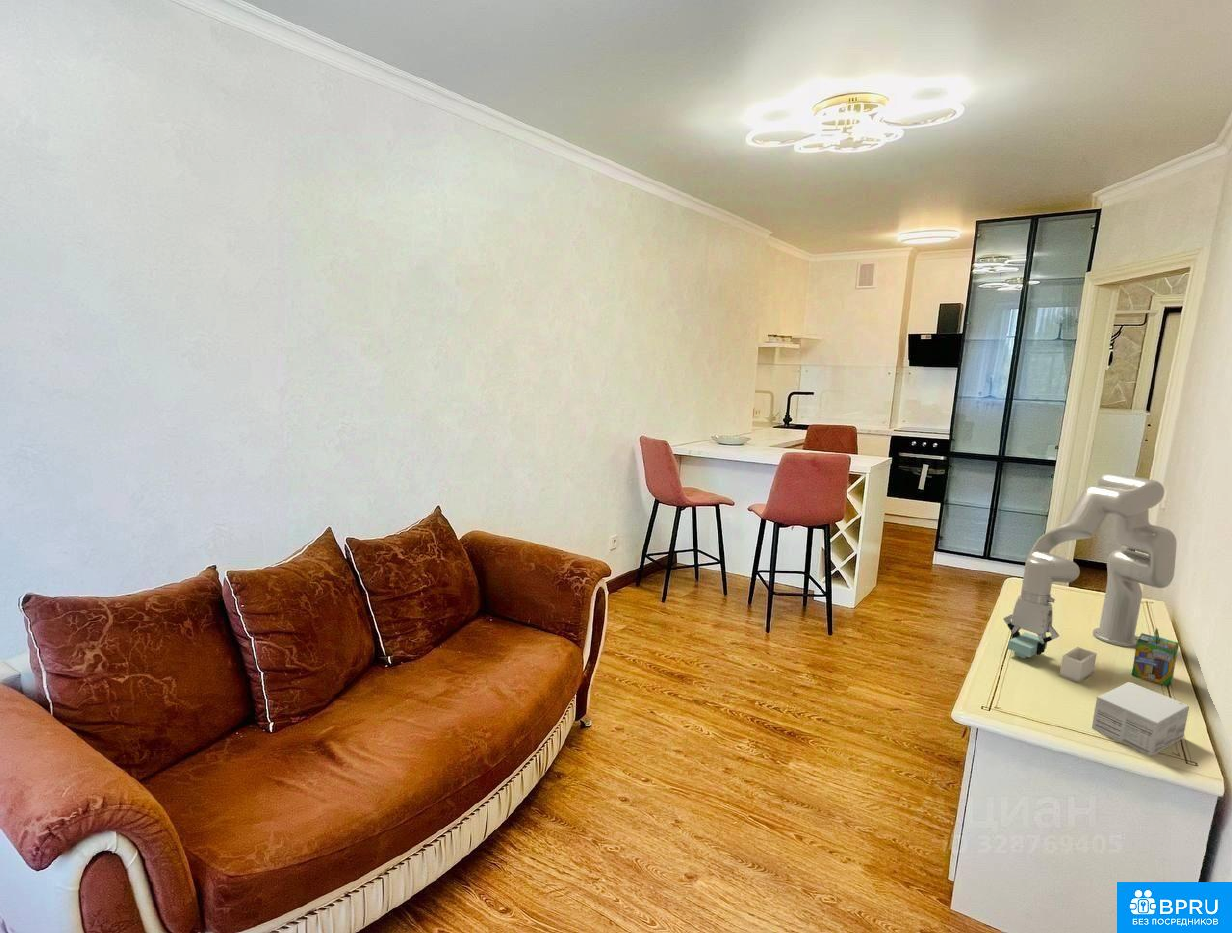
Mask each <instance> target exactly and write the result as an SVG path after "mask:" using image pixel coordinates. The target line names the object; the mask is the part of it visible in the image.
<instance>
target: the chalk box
mask: <svg viewBox="0 0 1232 933" xmlns="http://www.w3.org/2000/svg"><path fill="white" fill-rule="evenodd" d="M1137 639H1138V640H1137V644H1136V646H1135V651H1134V659H1133V664H1132V670H1131V677H1135V678H1139V679H1143V680H1145V681H1150V682H1153V683H1156V684H1160V685H1162V686H1166V687H1169V686H1170V687H1171V686H1172V684H1173V679H1174V673H1175V667H1176V662H1177V656H1178V651H1179V647H1180V643H1179V642H1177V641H1174V640H1170V639H1167V638H1164V637H1160V634H1159V628H1157V627H1156V628H1155V631H1154V635H1151V634H1146V633H1143V632H1142V633H1141V634H1140V636H1139V637H1138V638H1137Z"/></svg>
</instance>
